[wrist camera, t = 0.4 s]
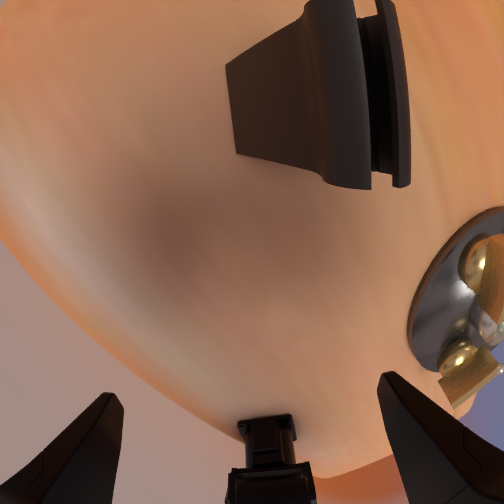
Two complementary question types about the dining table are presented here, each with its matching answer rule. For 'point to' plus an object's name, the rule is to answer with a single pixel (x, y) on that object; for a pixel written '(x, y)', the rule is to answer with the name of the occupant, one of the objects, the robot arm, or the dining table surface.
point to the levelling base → (461, 291)
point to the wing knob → (466, 370)
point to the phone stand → (327, 96)
